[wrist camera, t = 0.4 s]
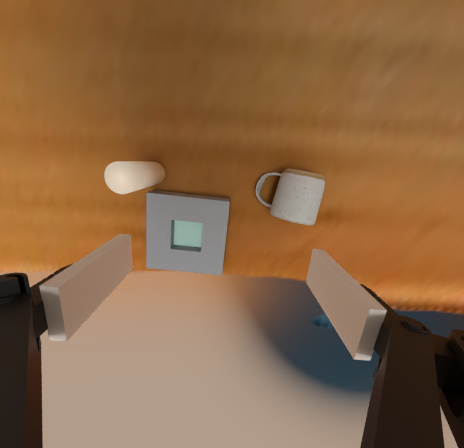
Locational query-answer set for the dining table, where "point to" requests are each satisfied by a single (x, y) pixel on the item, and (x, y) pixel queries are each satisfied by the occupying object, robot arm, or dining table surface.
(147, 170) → the dowel pin
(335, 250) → the dining table surface
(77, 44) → the dining table surface
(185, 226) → the bore block
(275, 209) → the ceramic mug
